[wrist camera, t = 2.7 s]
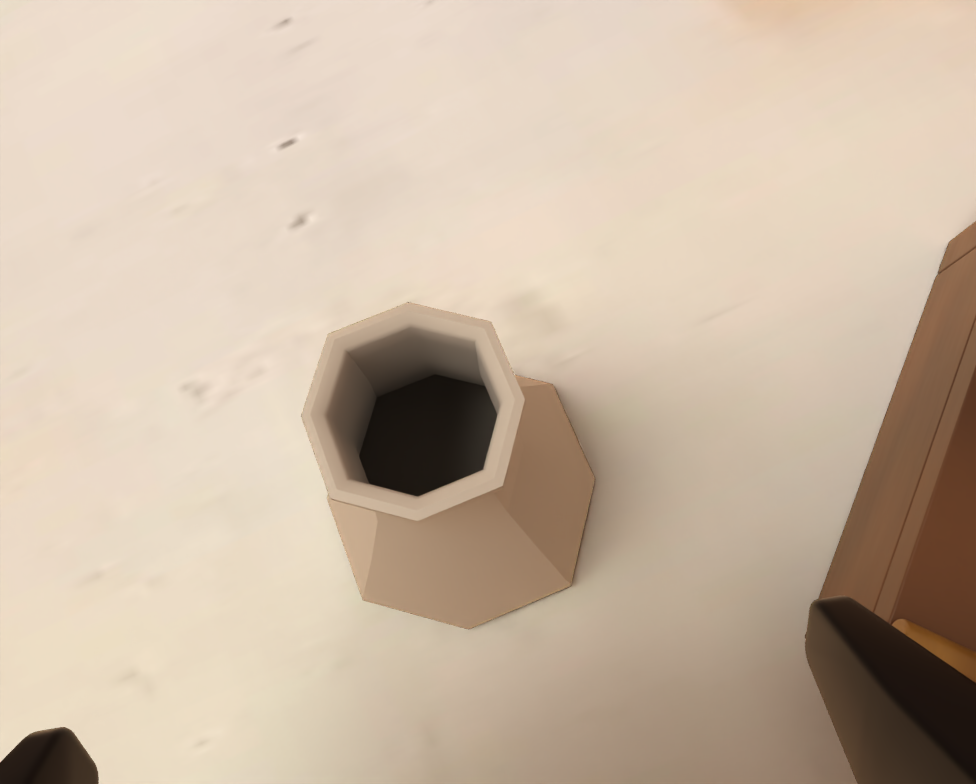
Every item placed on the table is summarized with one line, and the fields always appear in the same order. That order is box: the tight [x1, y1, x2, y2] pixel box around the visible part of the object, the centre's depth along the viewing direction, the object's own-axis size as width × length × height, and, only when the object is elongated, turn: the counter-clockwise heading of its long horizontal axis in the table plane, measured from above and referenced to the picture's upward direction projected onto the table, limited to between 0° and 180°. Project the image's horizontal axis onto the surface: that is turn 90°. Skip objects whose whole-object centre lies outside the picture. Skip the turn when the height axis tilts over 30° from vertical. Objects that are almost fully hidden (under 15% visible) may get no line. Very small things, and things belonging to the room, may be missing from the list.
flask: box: [301, 302, 595, 629], centre depth 15 cm, size 7×7×10 cm
